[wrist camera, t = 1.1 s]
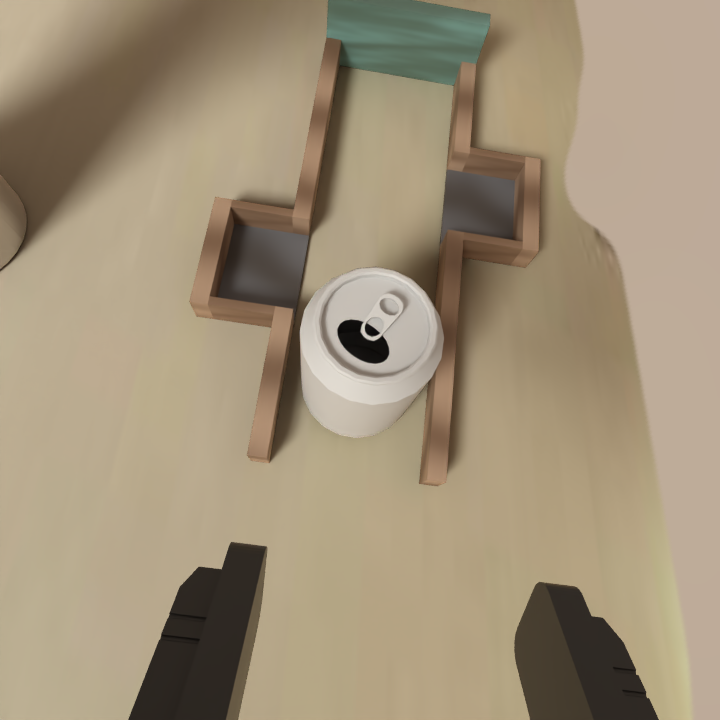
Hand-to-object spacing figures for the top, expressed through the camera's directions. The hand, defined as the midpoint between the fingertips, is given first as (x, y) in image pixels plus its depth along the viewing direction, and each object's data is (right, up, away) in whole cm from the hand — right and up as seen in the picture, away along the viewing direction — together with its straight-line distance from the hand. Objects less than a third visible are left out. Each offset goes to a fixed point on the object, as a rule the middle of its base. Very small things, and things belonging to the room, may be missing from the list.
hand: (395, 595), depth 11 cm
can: (-1, +3, +27) cm, 27 cm away
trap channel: (0, +13, +30) cm, 33 cm away
